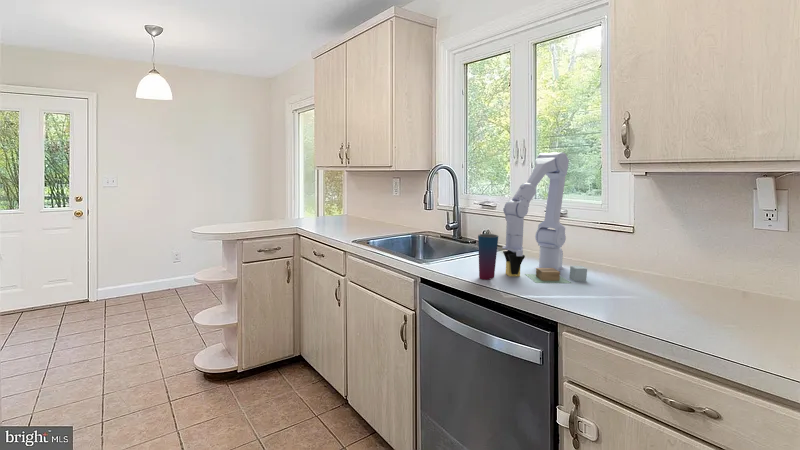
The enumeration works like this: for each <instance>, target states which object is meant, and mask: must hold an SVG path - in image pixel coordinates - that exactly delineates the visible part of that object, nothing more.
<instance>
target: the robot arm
mask: <svg viewBox="0 0 800 450" xmlns="http://www.w3.org/2000/svg"><path fill="white" fill-rule="evenodd" d="M569 160H570V159H569V157H568V155H567V154H566V152H563V151H560V152H540V153H538V155H537V157H536V159H535V160H534V165H535V167H534V168H533V170H532V171H531V173H530V176H529V178H528V180H527V182H526V183H522V184H520V185H519V188H518V190H517V191H516V192H515V194H514V195H513V197H512V198H511V200H507V202H506V203H505V204H504V207H503V213H504V216H505V217H504V218H505V219H504V220H505V221H506V229H505V245H504V246H501V249H503V250H504V251H502V254H503V256H504V258H505V261H510V266H511V274H518V272H519V269H520V270H521V266H520V265H522V262H523V261H524V259H525V258H526V256H525V255H524V251H523V250H524V247H523V242H524V222H525V221H524V219H525V217H526V216H527V214H528V212H529V207H530V202H531V201H532V199H533V198H534V196H535V195H536V193H537V189H536V187H537V186H538V184H539V183H540V182H541V181H542V179H543V178H544V177H545V176H547V177H548V179H549V184H548V193H547V201H546V207H545V208H546V209H545V215H544V220H543V221H541V222H540V223H539V224H538V226H537V230H536V232H535V236H534V237H535V241H536V243H537V244H538V245H537V246H539V254H538V255H539V256H538V257H539V258H538V266H536V267H534V269H536V268H554V269H556V270H558V271H560V270H562V269H565V266H563V260H564V259H563V258H564V253H563V249H562V247H563V246H564V245H565V243H566V239H567V237H566V227H565V226H564V225H563V224H562V223H561V222H560V218H561V212H562V204H563V197H564V190H565V182H566V176H567V175H568V168H569Z"/></svg>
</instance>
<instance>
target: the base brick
mask: <svg viewBox="0 0 800 450" xmlns="http://www.w3.org/2000/svg"><path fill="white" fill-rule="evenodd" d="M535 269H536V270H535V274H536V277H538V278H539V279H540V280H542V281H560V276H561V272H560V270H556V269H554V268H535Z"/></svg>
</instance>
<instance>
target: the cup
mask: <svg viewBox="0 0 800 450" xmlns="http://www.w3.org/2000/svg"><path fill="white" fill-rule="evenodd" d="M477 238H478V241H477V242H478V243H477V245H478V278H479V279H480V280H483V281H490V280H491V279H493V278H495V272H496V263H497V262H496V261H497V254H498V245H499V235H498V234H493V233H481V234H480V233H479V234H478V235H477Z"/></svg>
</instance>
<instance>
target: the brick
mask: <svg viewBox="0 0 800 450" xmlns="http://www.w3.org/2000/svg"><path fill="white" fill-rule="evenodd" d="M587 275H588V268H587V267H584V266H582V265H570V267H569V279H570V280H571V281H573V282H587V279H588V276H587Z"/></svg>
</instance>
